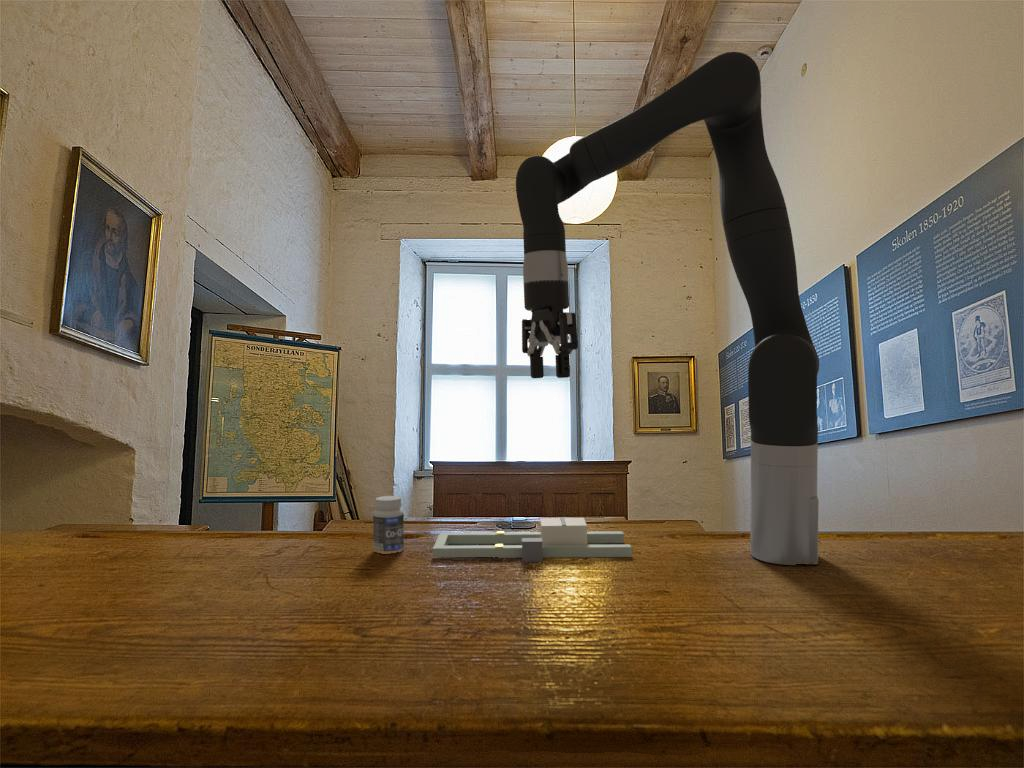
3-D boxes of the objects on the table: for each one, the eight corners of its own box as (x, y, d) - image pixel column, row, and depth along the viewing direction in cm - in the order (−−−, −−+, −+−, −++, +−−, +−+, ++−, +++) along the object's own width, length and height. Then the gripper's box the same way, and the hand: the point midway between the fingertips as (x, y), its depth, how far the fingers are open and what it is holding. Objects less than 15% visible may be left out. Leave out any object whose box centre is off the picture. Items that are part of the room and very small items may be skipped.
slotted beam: (622, 540, 112) (622, 522, 111) (633, 560, 100) (633, 540, 100) (440, 541, 112) (439, 523, 112) (431, 562, 101) (430, 542, 101)
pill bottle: (388, 556, 104) (387, 502, 103) (367, 551, 107) (366, 498, 106) (410, 549, 108) (409, 497, 107) (389, 544, 110) (389, 493, 110)
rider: (583, 545, 110) (583, 517, 109) (587, 554, 105) (587, 524, 104) (540, 545, 110) (540, 517, 109) (541, 554, 105) (541, 525, 104)
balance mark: (504, 532, 112) (504, 531, 112) (502, 548, 103) (502, 546, 103) (496, 532, 112) (496, 531, 112) (494, 548, 103) (494, 546, 103)
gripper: (588, 275, 109) (592, 376, 109) (544, 286, 122) (547, 377, 122) (548, 274, 105) (552, 378, 106) (506, 286, 118) (510, 379, 119)
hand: (549, 377), depth 114 cm, fingers open, 8 cm apart
